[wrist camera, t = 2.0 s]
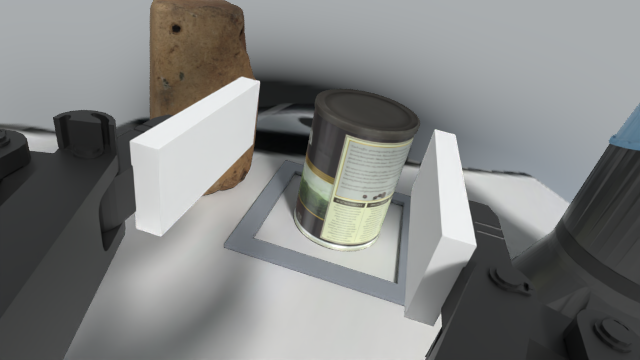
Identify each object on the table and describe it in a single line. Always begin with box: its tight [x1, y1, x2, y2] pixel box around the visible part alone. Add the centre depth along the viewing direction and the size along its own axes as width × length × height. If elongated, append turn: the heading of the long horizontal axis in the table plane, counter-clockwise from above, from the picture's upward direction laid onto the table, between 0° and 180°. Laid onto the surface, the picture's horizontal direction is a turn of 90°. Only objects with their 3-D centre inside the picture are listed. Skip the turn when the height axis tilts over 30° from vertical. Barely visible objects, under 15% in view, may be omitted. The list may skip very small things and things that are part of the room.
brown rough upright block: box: [150, 0, 259, 195], centre depth 40 cm, size 11×8×20 cm
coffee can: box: [294, 89, 420, 251], centre depth 40 cm, size 10×10×14 cm
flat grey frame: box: [224, 160, 411, 306], centre depth 44 cm, size 19×19×1 cm
